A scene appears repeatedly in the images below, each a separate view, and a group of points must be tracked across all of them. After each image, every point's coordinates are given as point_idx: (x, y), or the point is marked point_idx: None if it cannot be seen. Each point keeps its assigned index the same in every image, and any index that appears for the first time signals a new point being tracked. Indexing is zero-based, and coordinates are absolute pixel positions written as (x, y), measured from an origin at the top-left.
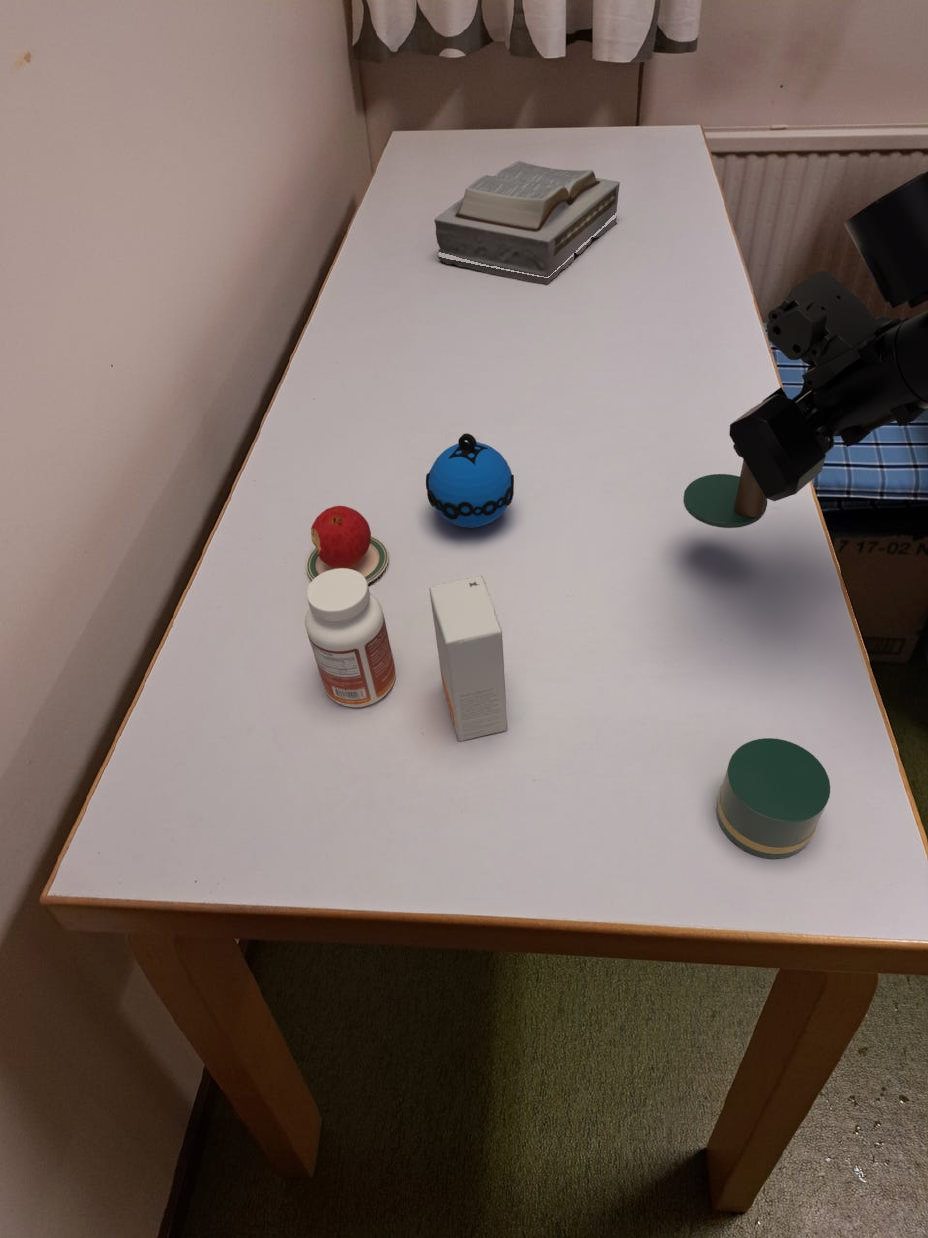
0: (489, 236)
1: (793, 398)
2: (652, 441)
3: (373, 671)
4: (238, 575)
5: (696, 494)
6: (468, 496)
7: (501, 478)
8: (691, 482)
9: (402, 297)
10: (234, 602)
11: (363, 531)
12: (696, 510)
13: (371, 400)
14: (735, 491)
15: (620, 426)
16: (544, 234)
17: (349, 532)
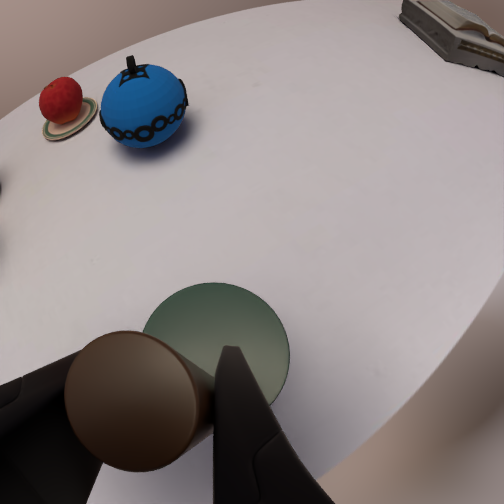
0: (426, 16)
1: (217, 486)
2: (378, 192)
3: None
4: None
5: (192, 307)
6: (103, 113)
7: (134, 112)
8: (219, 283)
9: (354, 14)
10: (29, 111)
11: (56, 102)
12: (151, 328)
13: (246, 35)
14: None
15: (371, 157)
16: (457, 33)
17: (46, 99)
